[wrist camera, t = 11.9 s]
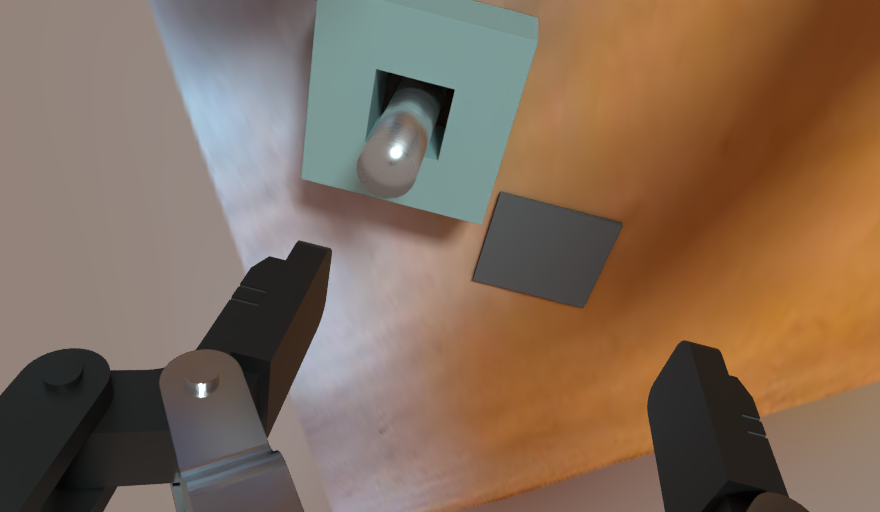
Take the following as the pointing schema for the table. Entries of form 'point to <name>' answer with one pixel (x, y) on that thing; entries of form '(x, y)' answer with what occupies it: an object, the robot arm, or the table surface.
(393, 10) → the socket block
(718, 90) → the table surface
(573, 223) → the mat
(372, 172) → the pin
